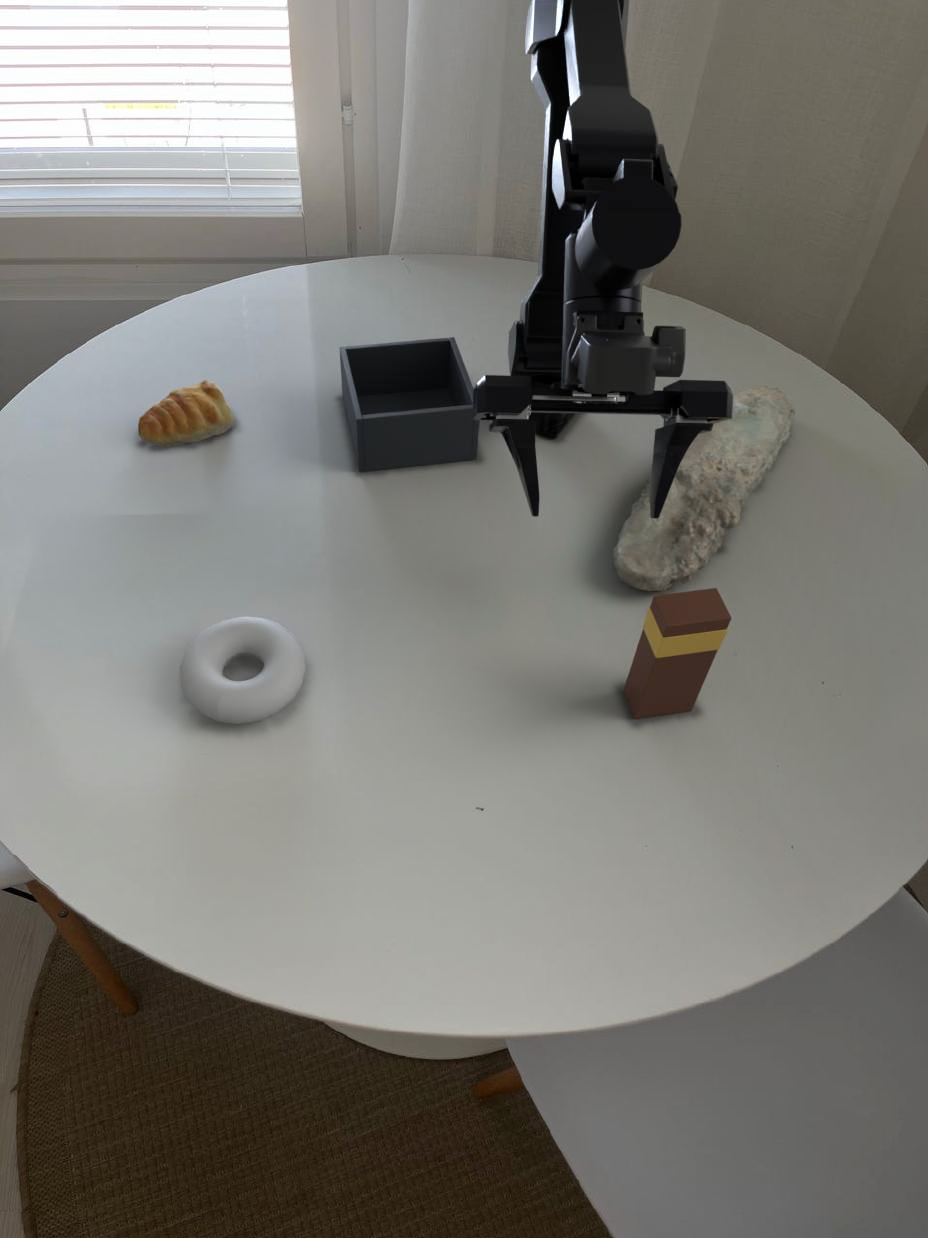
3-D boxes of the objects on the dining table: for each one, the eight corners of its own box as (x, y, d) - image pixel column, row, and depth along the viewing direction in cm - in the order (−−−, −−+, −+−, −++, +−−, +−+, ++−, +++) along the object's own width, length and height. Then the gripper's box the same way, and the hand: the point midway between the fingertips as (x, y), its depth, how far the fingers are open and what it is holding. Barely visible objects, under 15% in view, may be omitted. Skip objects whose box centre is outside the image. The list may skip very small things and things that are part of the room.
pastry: (158, 462, 91) (150, 431, 88) (128, 428, 94) (119, 397, 91) (241, 428, 95) (235, 397, 92) (209, 396, 98) (203, 366, 95)
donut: (308, 632, 78) (189, 634, 77) (306, 606, 76) (182, 608, 74) (305, 730, 72) (175, 734, 71) (302, 706, 69) (167, 710, 68)
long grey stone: (808, 433, 101) (724, 404, 105) (823, 391, 97) (736, 363, 101) (685, 618, 80) (585, 574, 84) (698, 575, 76) (593, 531, 80)
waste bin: (451, 388, 101) (454, 336, 96) (476, 459, 94) (480, 407, 89) (342, 398, 99) (339, 346, 94) (359, 472, 91) (356, 419, 86)
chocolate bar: (622, 689, 76) (652, 594, 67) (679, 681, 77) (717, 586, 67) (634, 720, 74) (666, 627, 65) (692, 711, 75) (733, 618, 65)
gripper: (485, 274, 59) (480, 517, 61) (767, 282, 60) (754, 521, 62) (473, 310, 70) (470, 515, 72) (712, 317, 71) (702, 518, 73)
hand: (595, 517), depth 69 cm, fingers open, 9 cm apart
